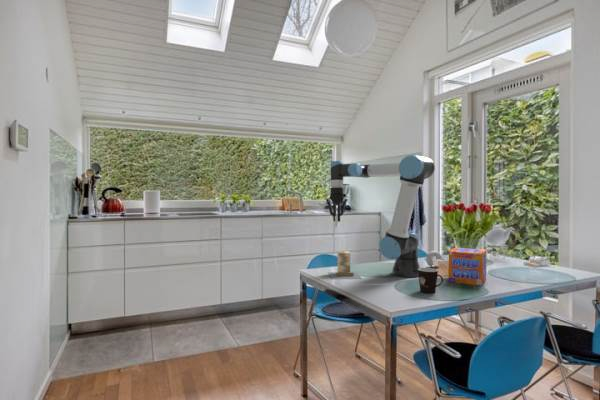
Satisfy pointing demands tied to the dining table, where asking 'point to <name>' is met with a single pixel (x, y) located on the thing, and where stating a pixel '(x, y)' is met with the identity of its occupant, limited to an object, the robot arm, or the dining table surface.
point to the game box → (467, 266)
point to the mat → (344, 275)
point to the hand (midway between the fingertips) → (336, 227)
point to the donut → (431, 255)
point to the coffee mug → (428, 280)
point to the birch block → (343, 261)
